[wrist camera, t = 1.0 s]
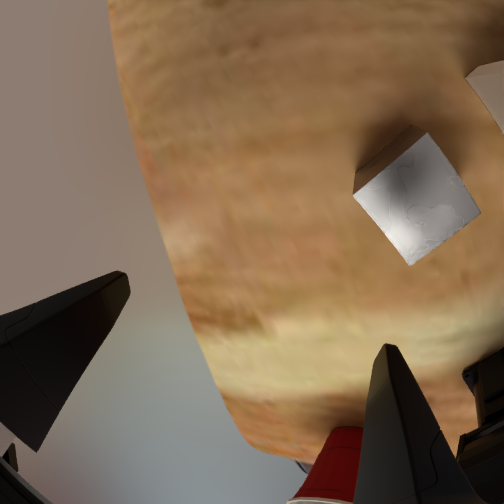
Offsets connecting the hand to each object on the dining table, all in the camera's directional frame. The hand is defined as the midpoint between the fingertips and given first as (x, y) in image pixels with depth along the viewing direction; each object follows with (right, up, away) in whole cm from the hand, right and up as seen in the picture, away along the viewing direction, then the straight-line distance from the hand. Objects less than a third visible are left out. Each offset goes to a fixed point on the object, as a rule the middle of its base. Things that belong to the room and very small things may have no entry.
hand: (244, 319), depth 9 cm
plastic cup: (+13, -21, +23) cm, 33 cm away
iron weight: (+10, +7, +8) cm, 14 cm away
